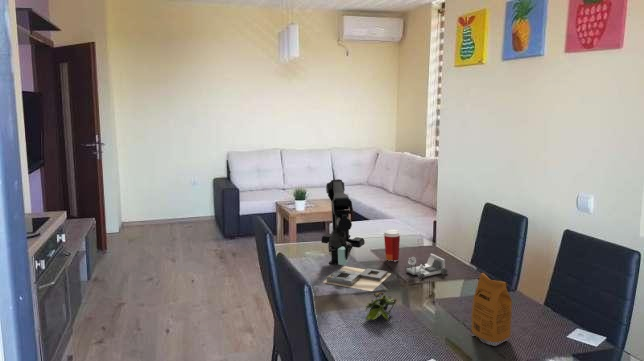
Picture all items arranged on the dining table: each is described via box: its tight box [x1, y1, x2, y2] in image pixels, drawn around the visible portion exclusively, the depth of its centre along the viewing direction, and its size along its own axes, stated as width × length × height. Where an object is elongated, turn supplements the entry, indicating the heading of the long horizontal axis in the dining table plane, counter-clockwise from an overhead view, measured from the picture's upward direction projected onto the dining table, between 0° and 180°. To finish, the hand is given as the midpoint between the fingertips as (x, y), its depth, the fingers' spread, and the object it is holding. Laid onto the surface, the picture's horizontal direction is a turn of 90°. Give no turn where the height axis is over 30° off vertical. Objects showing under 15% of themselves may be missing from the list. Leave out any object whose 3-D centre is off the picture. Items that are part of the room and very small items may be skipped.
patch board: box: [322, 265, 392, 292], centre depth 231 cm, size 22×24×1 cm
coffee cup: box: [382, 229, 401, 261], centre depth 252 cm, size 8×8×15 cm
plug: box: [337, 247, 349, 266], centre depth 227 cm, size 4×3×7 cm
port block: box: [326, 269, 361, 286], centre depth 229 cm, size 10×12×2 cm
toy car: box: [404, 253, 449, 279], centre depth 235 cm, size 18×10×12 cm
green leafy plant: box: [364, 292, 397, 323], centre depth 193 cm, size 11×11×12 cm
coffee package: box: [471, 272, 513, 342], centre depth 173 cm, size 10×12×22 cm
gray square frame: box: [361, 267, 389, 281], centre depth 233 cm, size 9×10×1 cm
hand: (343, 258), depth 228 cm, fingers closed on plug, 3 cm apart
